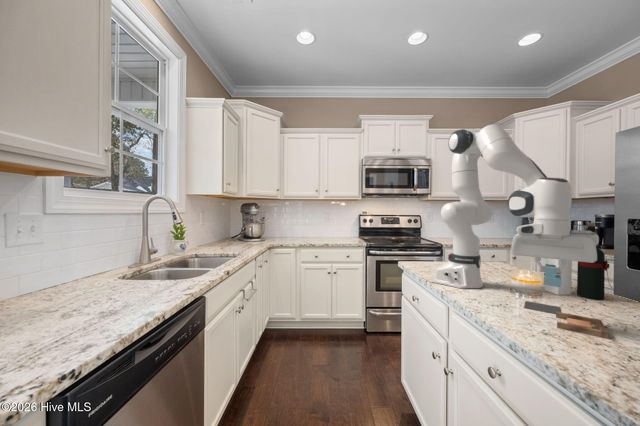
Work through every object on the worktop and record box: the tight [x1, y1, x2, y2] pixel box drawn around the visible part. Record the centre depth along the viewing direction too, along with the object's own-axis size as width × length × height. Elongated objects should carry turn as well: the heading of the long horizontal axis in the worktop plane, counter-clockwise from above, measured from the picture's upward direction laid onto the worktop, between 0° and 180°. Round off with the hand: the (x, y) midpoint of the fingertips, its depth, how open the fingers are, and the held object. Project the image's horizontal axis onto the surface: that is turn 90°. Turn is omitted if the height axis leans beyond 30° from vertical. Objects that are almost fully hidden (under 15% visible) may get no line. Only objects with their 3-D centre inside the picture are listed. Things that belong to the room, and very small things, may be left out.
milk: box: [544, 258, 573, 296], centre depth 114 cm, size 6×6×22 cm
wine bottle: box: [576, 222, 614, 301], centre depth 108 cm, size 8×10×30 cm
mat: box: [523, 300, 562, 315], centre depth 95 cm, size 10×10×1 cm
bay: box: [555, 311, 609, 340], centre depth 80 cm, size 10×11×2 cm
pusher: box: [543, 263, 561, 287], centre depth 84 cm, size 4×7×6 cm, turn 140°
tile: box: [566, 318, 593, 329], centre depth 80 cm, size 5×5×2 cm
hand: (550, 272), depth 84 cm, fingers closed on pusher, 2 cm apart
